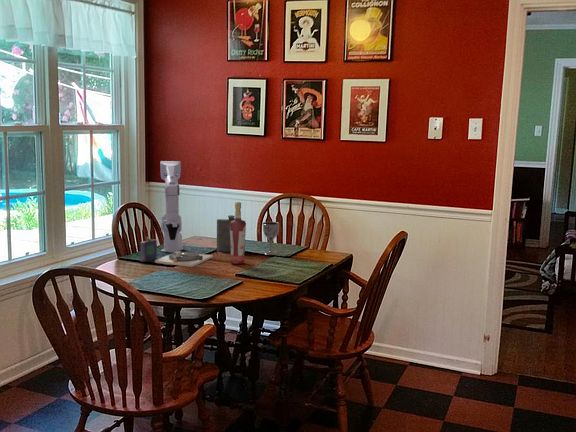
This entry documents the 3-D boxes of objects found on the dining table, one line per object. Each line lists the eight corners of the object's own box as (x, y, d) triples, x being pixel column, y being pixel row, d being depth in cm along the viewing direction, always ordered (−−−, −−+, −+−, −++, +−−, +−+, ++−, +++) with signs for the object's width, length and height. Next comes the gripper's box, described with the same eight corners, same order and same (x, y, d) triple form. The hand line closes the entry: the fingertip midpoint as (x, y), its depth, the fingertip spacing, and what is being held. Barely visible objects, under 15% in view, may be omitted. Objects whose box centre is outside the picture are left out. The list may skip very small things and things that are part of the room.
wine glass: (279, 251, 303) (280, 222, 300) (277, 255, 295) (278, 224, 292) (263, 251, 303) (264, 221, 301) (261, 254, 296) (261, 224, 293)
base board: (177, 253, 294) (177, 248, 293) (212, 257, 288) (212, 252, 287) (154, 262, 275) (154, 256, 275) (192, 267, 269) (192, 261, 269)
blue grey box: (143, 262, 276) (142, 238, 274) (138, 261, 277) (138, 238, 275) (158, 258, 283) (157, 235, 281) (153, 257, 285) (153, 235, 283)
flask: (218, 249, 304) (218, 214, 301) (245, 251, 301) (246, 215, 298) (215, 251, 300) (216, 215, 297) (243, 253, 298) (244, 217, 295)
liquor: (243, 266, 273) (243, 204, 268) (227, 264, 274) (227, 203, 269) (247, 262, 280) (248, 202, 275) (232, 261, 281) (232, 201, 276)
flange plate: (178, 252, 290) (178, 244, 289) (205, 255, 285) (205, 247, 285) (160, 259, 275) (160, 251, 274) (188, 263, 270) (188, 254, 270)
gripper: (161, 208, 283) (161, 236, 285) (166, 213, 270) (166, 243, 272) (176, 207, 286) (176, 236, 288) (181, 212, 272) (182, 242, 275)
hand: (172, 239), depth 280 cm, fingers closed
